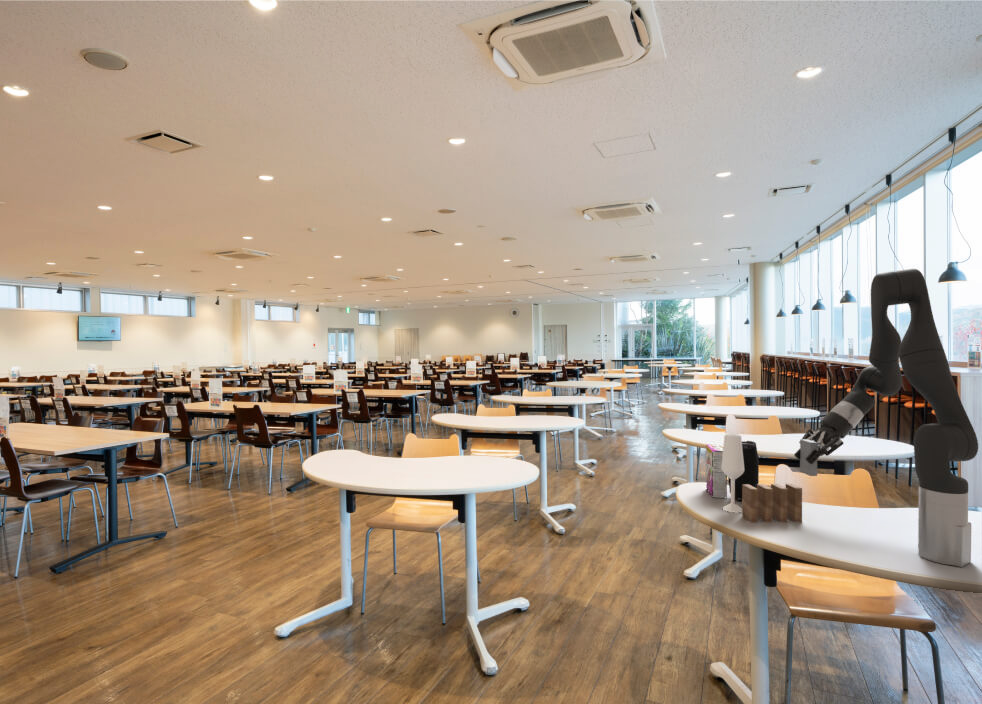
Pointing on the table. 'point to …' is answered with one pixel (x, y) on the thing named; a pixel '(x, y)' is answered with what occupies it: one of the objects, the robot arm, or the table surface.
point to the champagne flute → (732, 465)
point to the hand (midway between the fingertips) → (802, 459)
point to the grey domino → (805, 450)
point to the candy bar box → (715, 471)
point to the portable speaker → (747, 469)
